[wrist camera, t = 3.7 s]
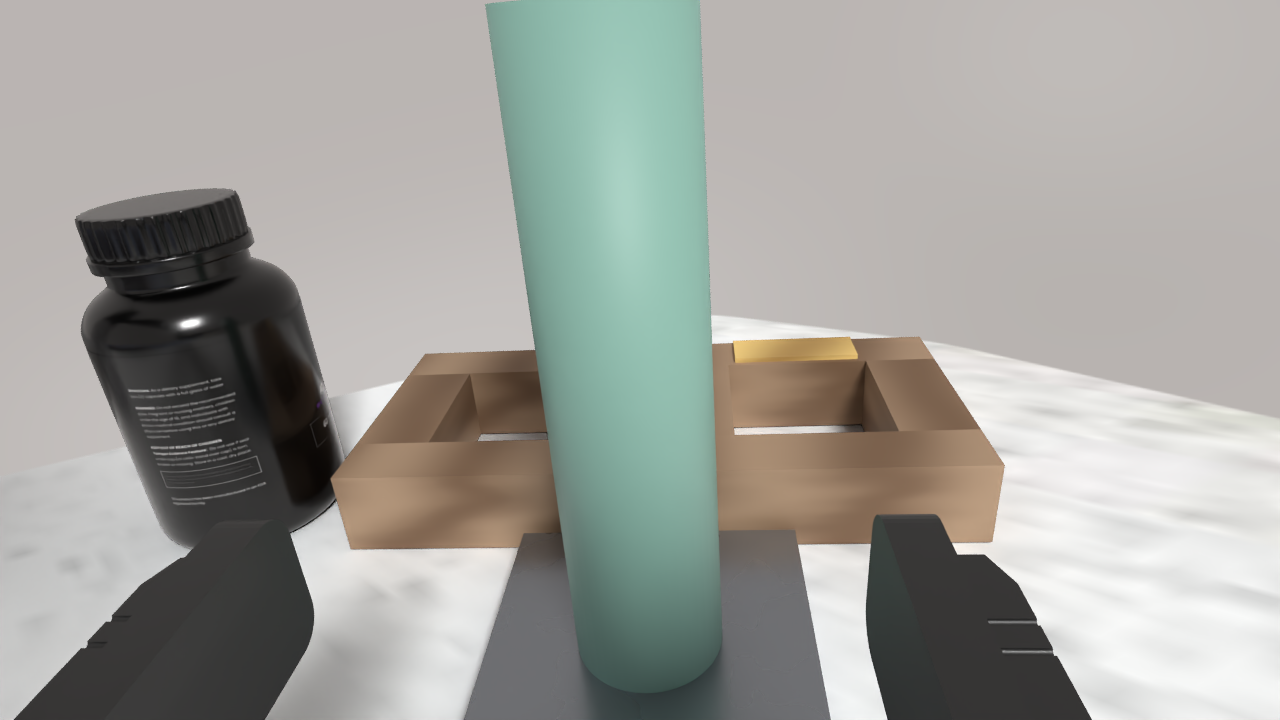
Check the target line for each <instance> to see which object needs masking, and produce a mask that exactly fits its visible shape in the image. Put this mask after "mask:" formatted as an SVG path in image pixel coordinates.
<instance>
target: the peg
mask: <svg viewBox="0 0 1280 720" xmlns="http://www.w3.org/2000/svg"><path fill="white" fill-rule="evenodd" d="M485 6H486V12H487V19H488V27H489V34H490V41H491V48H492V55H493V61H494V68H495V75H496V82H497V89H498V96H499V102H500V110H501V117H502V124H503V130H504V137H505V144H506V151H507V158H508V165H509V172H510V179H511V185H512V193H513V199H514V206H515V213H516V220H517V227H518V234H519V241H520V248H521V255H522V261H523V269H524V275H525V282H526V289H527V295H528V303H529V310H530V316H531V323H532V331H533V337H534V344H535V351H536V358H537V365H538V372H539V379H540V386H541V393H542V400H543V407H544V414H545V420H546V427H547V434H548V441H549V448H550V455H551V462H552V469H553V476H554V483H555V489H556V496H557V503H558V510H559V517H560V524H561V531H562V538H563V545H564V552H565V558H566V565H567V572H568V579H569V586H570V593H571V600H572V607H573V614H574V621H575V628H576V634H577V641H578V648H579V652H580V656H581V658H582V660H583V663H584V664H585V666H586V667H587V669H588V670H589V671H590V672H591V673H592V674H593V675H594V676H595V677H597V678H598V679H599V680H601V681H602V682H604V683H606V684H607V685H609V686H612V687H614V688H617V689H620V690H623V691H628V692H634V693H658V692H664V691H669V690H672V689H676V688H678V687H681V686H683V685H686V684H688V683H689V682H691V681H693V680H695V679H696V678H698V677H699V676H700V675H702V674H703V673H704V672H705V671H706V670H707V669H708V668H709V667H710V666H711V664H712V663H713V662H714V660H715V658H716V657H717V655H718V653H719V650H720V647H721V643H722V612H721V583H720V555H719V527H718V499H717V471H716V443H715V415H714V387H713V358H712V330H711V302H710V274H709V246H708V218H707V190H706V162H705V134H704V107H703V77H702V49H701V22H700V0H521V1H509V2H499V3H490V4H485Z"/></svg>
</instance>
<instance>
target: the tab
mask: <svg viewBox="0 0 1280 720" xmlns="http://www.w3.org/2000/svg"><path fill="white" fill-rule="evenodd" d="M719 555H720V583H721V612H722V643H721V647H720V650H719V653H718V655H717V657H716V658H715V660H714V662H713V663H712V664H711V666H710V667H709V668H708V669H707V670H706V671H705V672H704V673H703V674H702V675H700V676H699V677H698V678H696V679H695V680H693V681H691V682H689V683H688V684H686V685H683V686H681V687H678V688H676V689H672V690H669V691H664V692H658V693H634V692H628V691H623V690H620V689H617V688H614V687H612V686H609V685H607V684H606V683H604V682H602V681H601V680H599V679H598V678H597V677H595V676H594V675H593V674H592V673H591V672H590V671H589V670H588V669H587V667H586V666H585V664H584V663H583V660H582V658H581V656H580V652H579V648H578V641H577V634H576V628H575V621H574V614H573V607H572V600H571V593H570V586H569V579H568V572H567V565H566V558H565V552H564V545H563V538H562V533H524V534H523V537H522V540H521V543H520V546H519V550H518V553H517V556H516V559H515V562H514V565H513V568H512V571H511V575H510V578H509V581H508V584H507V587H506V590H505V593H504V596H503V600H502V603H501V606H500V609H499V612H498V615H497V618H496V621H495V624H494V628H493V631H492V634H491V637H490V640H489V643H488V646H487V649H486V653H485V656H484V659H483V662H482V665H481V668H480V671H479V674H478V677H477V681H476V684H475V687H474V690H473V693H472V696H471V699H470V702H469V706H468V709H467V712H466V715H465V718H464V720H831V719H830V713H829V708H828V703H827V698H826V692H825V687H824V682H823V676H822V671H821V666H820V660H819V655H818V650H817V644H816V639H815V634H814V628H813V623H812V618H811V612H810V607H809V602H808V597H807V591H806V586H805V581H804V575H803V570H802V565H801V559H800V554H799V549H798V543H797V538H796V533H795V530H726V531H719Z"/></svg>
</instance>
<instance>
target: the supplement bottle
mask: <svg viewBox="0 0 1280 720" xmlns="http://www.w3.org/2000/svg"><path fill="white" fill-rule="evenodd" d="M75 223H76V227H77V229H78V232H79V234H80V237H81V240H82V242H83V245H84V247H85V250H86V252H87V254H88V257H87V259H86V262H87V264H88V266H89V268H90V271H91V273H92V274H93V275H95V276H99V277H104V279H105V281H106V284H107V287H106V288H105V289H104V290H103V291H102V292H101V293H100V294H99V295H97V296H96V297H95V298H94V299H93V301H92V302H91V303H90V304H89V306H88V307H87V309H86V311H85V313H84V316H83V319H82V324H81V335H82V338H83V341H84V344H85V346H86V349H87V351H88V354H89V357H90V359H91V361H92V364H93V366H94V369H95V371H96V373H97V376H98V378H99V381H100V383H101V386H102V388H103V390H104V393H105V395H106V398H107V400H108V402H109V405H110V407H111V410H112V412H113V414H114V417H115V419H116V422H117V424H118V426H119V429H120V431H121V434H122V436H123V438H124V441H125V443H126V446H127V448H128V451H129V453H130V455H131V458H132V460H133V463H134V465H135V467H136V470H137V472H138V475H139V477H140V479H141V482H142V484H143V487H144V489H145V491H146V494H147V496H148V499H149V501H150V503H151V506H152V508H153V510H154V512H155V515H156V517H157V519H158V522H159V524H160V526H161V528H162V530H163V531H164V533H165V534H166V535H167V536H168V537H169V538H170V539H171V540H172V541H174V542H176V543H178V544H179V545H182V546H184V547H187V548H191V549H193V548H194V547H195V546H196V545H197V544H198V542H199V541H200V540H201V539H202V538H203V537H204V536H205V535H206V534H207V533H208V531H209V530H210V529H211V528H212V527H213V526H214V525H215V524H217V523H219V522H221V521H224V520H280V521H281V522H283V523H284V524H285V525H286V527H287V528H288V530H289V533H290V532H292V531H294V530H296V529H298V528H300V527H301V526H303V525H305V524H306V523H308V522H310V521H311V520H313V519H314V518H316V517H317V516H318V515H320V514H321V513H322V512H323V511H324V510H326V509H327V508H328V507H329V506H330V505H331V504H332V503H333V501H334V500H335V499H336V496H335V492H334V489H333V486H332V482H331V477H332V476H333V475H334V473H335V472H336V471H337V469H338V468H339V467H340V466H341V464H342V463H343V462H344V460H345V458H344V454H343V450H342V446H341V442H340V438H339V435H338V431H337V427H336V424H335V420H334V417H333V413H332V410H331V406H330V402H329V399H328V396H327V392H326V389H325V385H324V381H323V378H322V374H321V370H320V367H319V363H318V360H317V356H316V352H315V349H314V345H313V342H312V338H311V335H310V331H309V327H308V324H307V320H306V317H305V313H304V310H303V306H302V303H301V299H300V296H299V293H298V290H297V288H296V285H295V283H294V282H293V281H292V279H291V278H290V277H289V276H288V275H287V274H286V273H285V272H284V271H283V270H281V269H280V268H278V267H277V266H275V265H273V264H271V263H268V262H266V261H263V260H259V259H256V258H253V257H251V256H250V252H249V249H248V248H249V247H250V246H251V245H252V244H253V243H254V238H253V235H252V231H251V229H250V228H249V227H248V226H247V222H246V218H245V215H244V212H243V208H242V205H241V202H240V199H239V196H238V194H237V193H236V191H233V190H231V189H217V188H213V189H194V190H184V191H175V192H167V193H160V194H154V195H148V196H142V197H137V198H132V199H128V200H123V201H119V202H115V203H111V204H107V205H103V206H100V207H97V208H94V209H91V210H88V211H86V212H84V213H81V214H80V215H78V216H77V217H76V219H75Z"/></svg>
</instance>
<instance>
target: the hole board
mask: <svg viewBox="0 0 1280 720" xmlns="http://www.w3.org/2000/svg"><path fill="white" fill-rule="evenodd" d="M712 358H713V387H714V415H715V443H716V471H717V499H718V527H719V531H726V530H795V533H796V538H797V543H798V544H850V543H871V538H872V527H873V521H874V518H875V516H876V515H881V514H936V515H938V517H939V518H940V519H941V521H942V523H943V525H944V528H945V530H946V532H947V534H948V536H949V538H950V540H951V542H992V540H993V534H994V528H995V522H996V515H997V509H998V503H999V497H1000V491H1001V485H1002V479H1003V473H1004V466H1005V465H1004V463H1003V462H1002V460H1001V459H1000V457H999V456H998V454H997V453H996V451H995V450H994V448H993V447H992V445H991V444H990V442H989V441H988V439H987V438H986V436H985V435H984V433H983V432H982V430H981V429H980V427H979V426H978V424H977V423H976V421H975V420H974V418H973V417H972V415H971V414H970V412H969V411H968V409H967V408H966V406H965V405H964V403H963V402H962V400H961V399H960V397H959V396H958V394H957V393H956V391H955V390H954V388H953V387H952V385H951V384H950V382H949V381H948V379H947V378H946V376H945V375H944V373H943V372H942V370H941V369H940V367H939V366H938V364H937V363H936V361H935V360H934V358H933V357H932V355H931V354H930V352H929V351H928V349H927V347H926V346H925V344H924V343H923V341H922V340H921V338H920V337H899V338H870V339H850V337H832V338H804V339H775V340H746V341H733V343H726V344H712ZM853 424H862V426H863V429H864V431H865V432H846V433H804V434H762V435H734V427H773V426H813V425H853ZM531 432H547V427H546V420H545V414H544V407H543V400H542V393H541V386H540V379H539V372H538V365H537V358H536V351H535V350H524V351H497V352H469V353H468V352H467V353H438V354H425V355H424V356H423V358H422V359H421V360H420V362H419V363H418V364H417V366H416V367H415V368H414V369H413V371H412V372H411V373H410V375H409V376H408V377H407V379H406V380H405V381H404V383H403V384H402V385H401V387H400V388H399V389H398V391H397V392H396V393H395V394H394V396H393V397H392V398H391V400H390V401H389V402H388V404H387V405H386V406H385V408H384V409H383V410H382V412H381V413H380V414H379V416H378V417H377V418H376V419H375V421H374V422H373V423H372V425H371V426H370V427H369V429H368V430H367V431H366V433H365V434H364V435H363V437H362V438H361V439H360V441H359V442H358V443H357V444H356V446H355V447H354V448H353V450H352V451H351V452H350V454H349V455H348V456H347V458H346V459H345V460H344V462H343V463H342V464H341V466H340V467H339V468H338V469H337V471H336V472H335V473H334V475H333V476H332V477H331V482H332V486H333V489H334V492H335V496H336V499H337V503H338V506H339V510H340V513H341V517H342V520H343V524H344V527H345V530H346V534H347V537H348V541H349V544H350V548H351V549H407V548H495V547H519V546H520V543H521V540H522V537H523V534H524V533H562V531H561V524H560V517H559V510H558V503H557V496H556V489H555V483H554V476H553V469H552V462H551V455H550V448H549V441H548V440H512V441H478V439H479V437H480V435H481V434H491V433H531Z"/></svg>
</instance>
